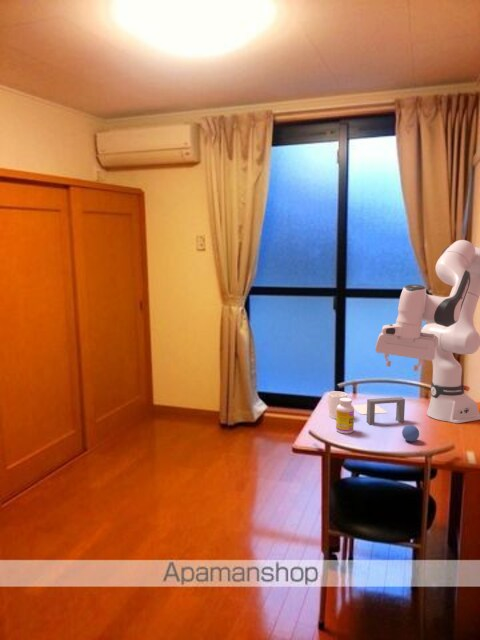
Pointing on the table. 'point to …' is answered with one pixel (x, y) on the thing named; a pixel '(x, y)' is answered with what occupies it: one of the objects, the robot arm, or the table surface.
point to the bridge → (371, 403)
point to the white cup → (334, 402)
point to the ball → (410, 433)
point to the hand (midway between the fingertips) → (401, 368)
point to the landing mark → (363, 409)
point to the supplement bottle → (345, 416)
